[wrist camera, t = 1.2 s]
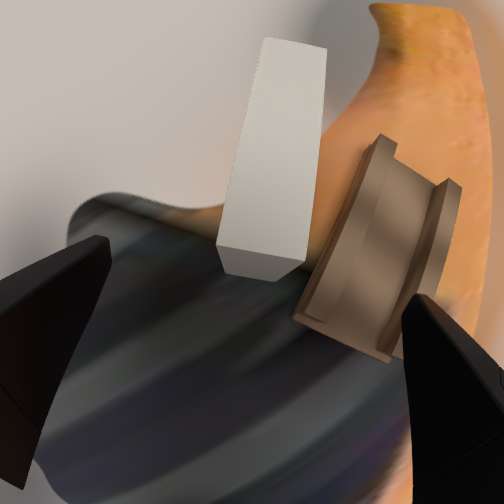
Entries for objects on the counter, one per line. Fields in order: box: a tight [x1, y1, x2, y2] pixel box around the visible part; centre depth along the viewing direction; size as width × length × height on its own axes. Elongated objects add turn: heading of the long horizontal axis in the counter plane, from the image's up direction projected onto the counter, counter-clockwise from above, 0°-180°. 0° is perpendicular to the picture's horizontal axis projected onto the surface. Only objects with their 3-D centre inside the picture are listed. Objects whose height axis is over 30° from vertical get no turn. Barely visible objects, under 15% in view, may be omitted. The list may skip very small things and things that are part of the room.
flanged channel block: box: [290, 134, 462, 364], centre depth 21 cm, size 15×8×4 cm, turn 153°
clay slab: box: [216, 37, 327, 282], centre depth 18 cm, size 12×4×10 cm, turn 170°
